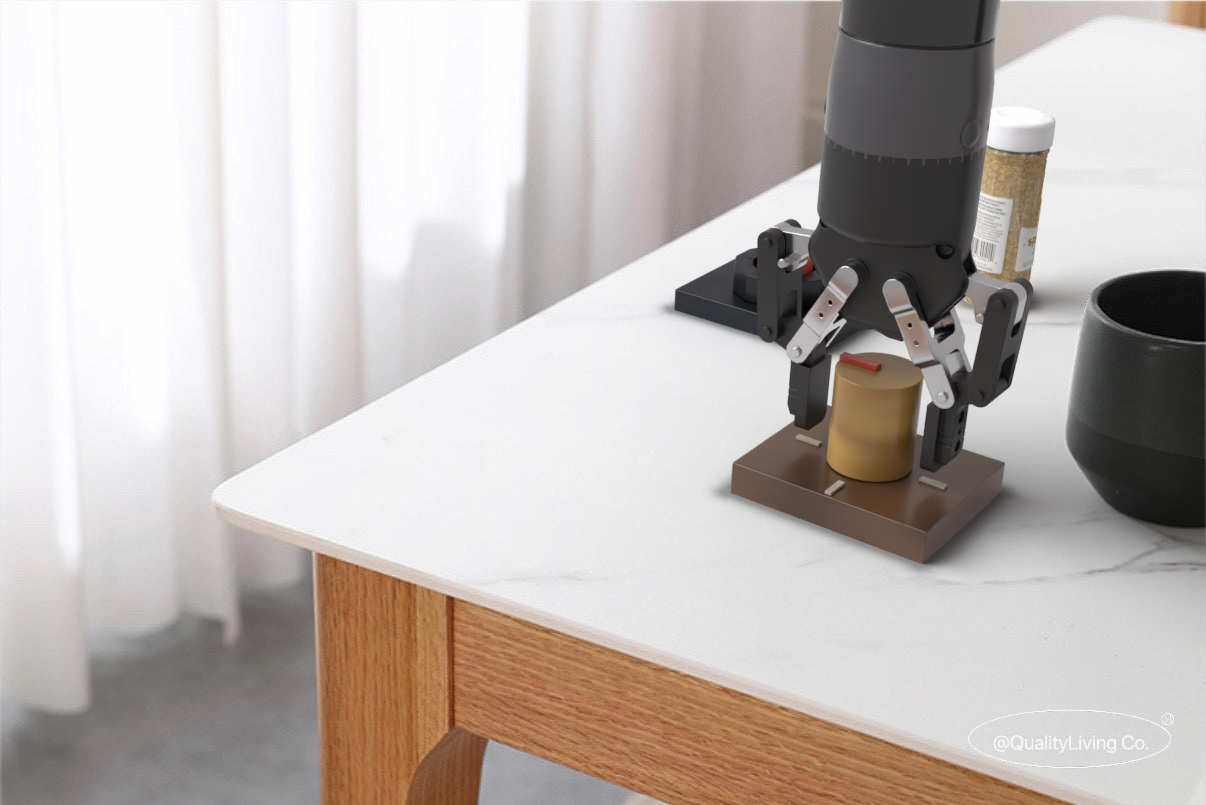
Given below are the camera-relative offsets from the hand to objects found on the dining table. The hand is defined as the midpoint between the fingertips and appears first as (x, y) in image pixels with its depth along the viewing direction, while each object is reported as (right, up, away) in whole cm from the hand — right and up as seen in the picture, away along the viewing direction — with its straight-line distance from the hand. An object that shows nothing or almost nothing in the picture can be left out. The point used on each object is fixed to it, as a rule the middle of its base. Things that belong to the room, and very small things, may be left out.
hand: (870, 443), depth 80 cm
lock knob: (0, -1, 0) cm, 1 cm away
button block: (-2, +8, +23) cm, 24 cm away
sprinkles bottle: (+13, +8, +26) cm, 30 cm away
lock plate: (0, -3, +2) cm, 4 cm away
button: (-2, +11, +21) cm, 24 cm away
